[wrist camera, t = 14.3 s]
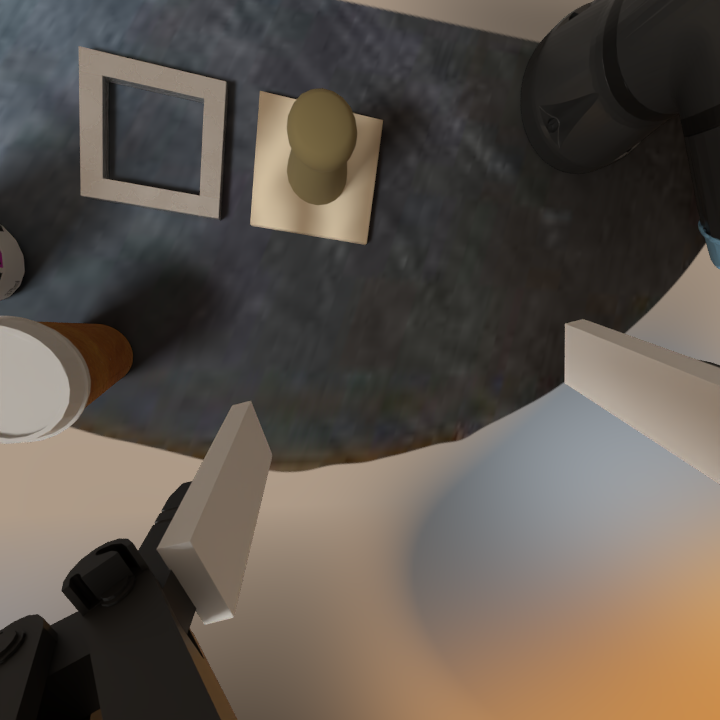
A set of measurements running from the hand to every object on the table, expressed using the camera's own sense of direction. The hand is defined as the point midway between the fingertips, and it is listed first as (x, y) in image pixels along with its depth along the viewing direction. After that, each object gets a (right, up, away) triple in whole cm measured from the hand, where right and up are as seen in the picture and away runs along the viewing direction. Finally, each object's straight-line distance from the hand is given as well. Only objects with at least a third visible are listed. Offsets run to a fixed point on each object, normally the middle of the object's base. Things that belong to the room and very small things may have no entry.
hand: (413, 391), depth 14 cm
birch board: (-7, +20, +21) cm, 30 cm away
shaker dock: (-21, +22, +18) cm, 36 cm away
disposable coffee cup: (-29, +2, +21) cm, 36 cm away
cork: (-6, +20, +20) cm, 29 cm away
